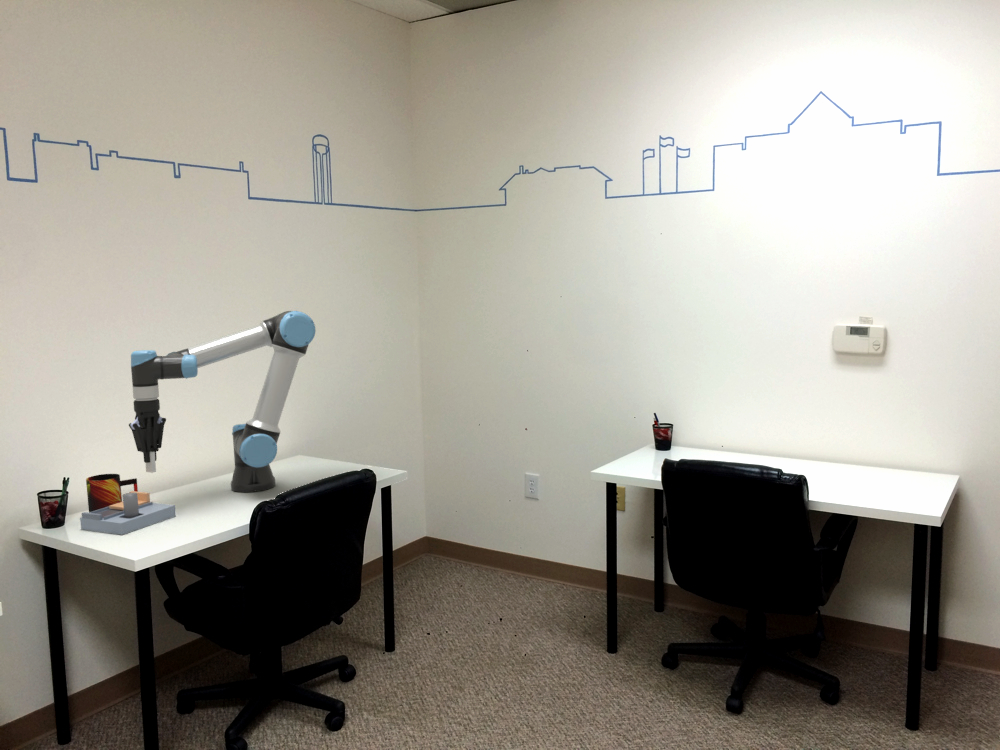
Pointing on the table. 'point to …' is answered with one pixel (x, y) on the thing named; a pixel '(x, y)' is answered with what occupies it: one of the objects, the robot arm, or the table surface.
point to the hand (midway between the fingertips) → (151, 471)
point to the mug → (106, 490)
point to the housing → (118, 524)
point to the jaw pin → (130, 505)
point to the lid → (142, 499)
